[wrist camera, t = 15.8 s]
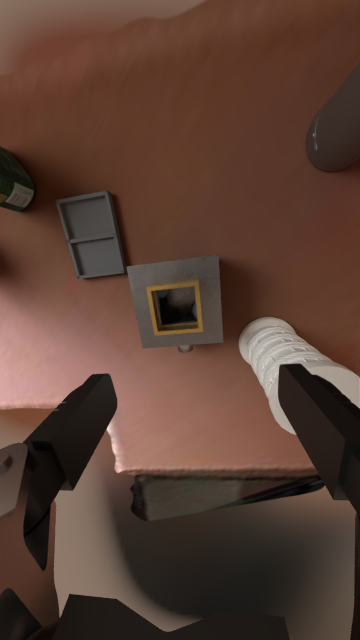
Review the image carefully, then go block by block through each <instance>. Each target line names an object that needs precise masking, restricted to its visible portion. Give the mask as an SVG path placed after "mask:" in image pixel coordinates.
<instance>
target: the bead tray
mask: <svg viewBox="0 0 360 640" xmlns="http://www.w3.org/2000/svg"><path fill="white" fill-rule="evenodd" d="M55 202H56V205H57V209H58V212H59V216H60V219H61V223H62V226H63V230H64V233H65V237H66V240H67V244H68V247H69V251H70V254H71V258H72V261H73V265H74V268H75V272H76V275H77V278H78V279H81V278H89V277H97V276H104V275H112V274H120V273H127V268H126V264H125V259H124V254H123V249H122V244H121V239H120V234H119V229H118V224H117V219H116V215H115V210H114V205H113V200H112V195H111V193H110V192H108V191H102V192H96V193H91V194H86V195H80V196H75V197H70V198H64V199H59V200H55Z"/></svg>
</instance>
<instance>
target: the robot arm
mask: <svg viewBox="0 0 360 640" xmlns="http://www.w3.org/2000/svg"><path fill="white" fill-rule="evenodd" d="M307 152H308V156H309V158H310V160H311V162H312V163H313V164H314V165H315V166H316V167H317V168H319V169H320V170H323V171H329V172H333V171H338V170H341V169H343V168H346V167H347V166H349V165H351V164H352V163H354V162H355V161H357V160H359V159H360V63H359V64H358V65H357V66H356V68H355V69H354V70H353V71H352V73H351V74H350V75H349V76H348V77H347V79H346V80H345V81H344V82H343V83H342V85H341V86H340V87H339V88H338V89H337V91H336V92H335V93H334V94H333V96H332V97H331V98H330V99H329V100H328V102H327V103H326V104H325V105H324V106H323V108H322V109H321V110H320V111H319V113H318V114H317V116H316V117H315V118H314V120H313V122H312V124H311V126H310V129H309V132H308V137H307ZM278 399H279V403H280V406H281V408H282V410H283V412H284V414H285V415H286V417H287V419H288V421H289V422H290V424H291V426H292V428H293V430H294V431H295V433H296V435H297V437H298V438H299V440H300V442H301V444H302V445H303V447H304V449H305V451H306V452H307V454H308V456H309V458H310V459H311V461H312V463H313V465H314V466H315V468H316V470H317V472H318V473H319V475H320V477H321V479H322V481H323V482H324V484H325V486H326V488H327V489H328V491H329V493H330V495H331V496H332V498H333V500H349V501H350V502H351V504H352V506H353V507H354V509H355V510H356V512H357V513H356V517H355V572H354V610H353V619H352V626H351V635H350V640H360V408H358V407H357V406H356V405H355V404H354V403H351V400H350V399H349V398H347V397H346V396H345V395H344V394H342V392H341V391H340V390H339V389H338V388H337V387H335V386H334V385H333V384H332V383H331V382H329V381H328V380H326V379H324V378H322V377H320V376H318V375H317V374H316V375H312V374H311V373H310V372H309V371H308V370H307V369H306V368H305V367H304V366H303V365H302V364H300V363H294V364H281V365H280V366H279V376H278ZM116 409H117V397H116V393H115V390H114V386H113V383H112V379H111V376H110V375H109V374H93V375H91V376H90V377H89V378H88V379H87V380H86V381H85V382H84V383H83V384H82V385H81V386H80V387H78V388H77V389H75V390H74V391H72V392H71V393H70V394H69V395H68V396H67V397H66V398H65V399H64V400H63V401H62V403H60V404H59V405H58V406H57V407H56V408H55V411H53V412H52V413H51V414H50V415H49V416H48V417H47V418H46V419H45V420H44V421H43V422H42V423H41V424H40V426H38V427H37V428H36V429H35V430H34V431H33V433H32V434H31V435H30V436H29V437H28V438H27V439H26V440H25V441H24V442H23V443H16V444H12V445H9V446H7V447H4V448H2V449H0V640H290V639H289V635H288V631H287V627H286V623H285V618H284V617H279V616H269V615H260V614H251V613H241V612H232V611H223V612H221V613H218V614H216V615H213V616H211V617H208V618H205V619H203V620H200V621H198V622H195V623H192V624H190V625H187V626H185V627H182V628H180V629H177V630H174V631H171V632H165V631H162V630H161V629H159V628H158V627H156V626H155V625H153V624H152V623H150V622H149V621H148V620H146V619H145V618H143V617H142V616H140V615H139V614H137V613H136V612H135V611H133V610H131V609H130V608H129V607H127V606H126V605H124V604H123V603H122V602H120V601H119V600H117V599H111V598H102V597H93V596H83V595H73V594H69V597H68V600H67V602H66V605H65V607H64V610H63V613H62V616H61V617H60V618H59V606H58V598H57V593H56V589H55V584H54V550H55V548H54V547H55V523H56V502H55V500H54V498H55V497H56V495H57V494H58V492H59V490H71V491H72V490H73V489H74V488H75V486H76V484H77V482H78V480H79V479H80V477H81V475H82V473H83V471H84V469H85V468H86V466H87V463H88V462H89V460H90V458H91V456H92V455H93V453H94V451H95V449H96V447H97V445H98V443H99V442H100V439H101V438H102V436H103V434H104V432H105V430H106V429H107V427H108V425H109V423H110V421H111V419H112V418H113V416H114V414H115V412H116Z"/></svg>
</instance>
